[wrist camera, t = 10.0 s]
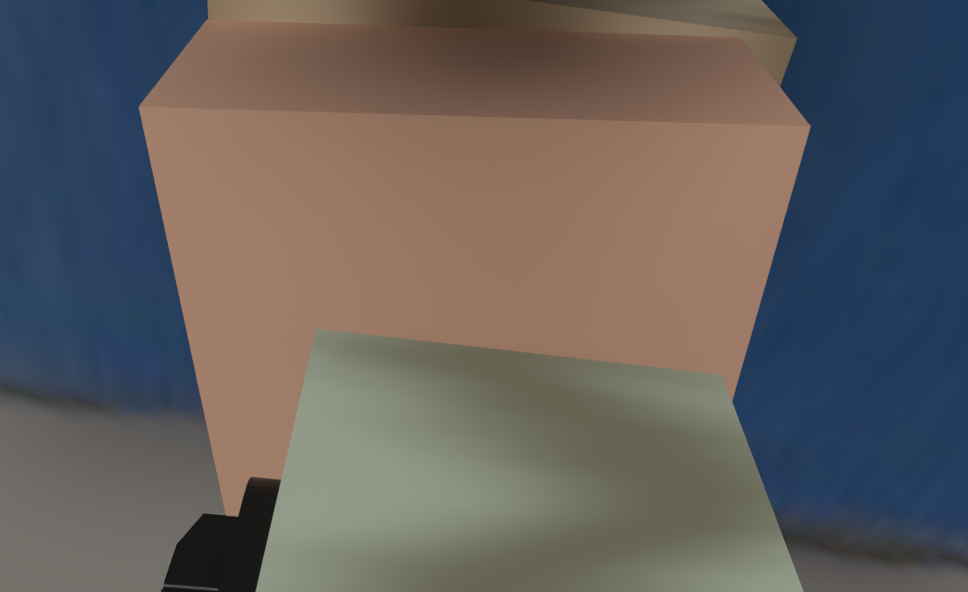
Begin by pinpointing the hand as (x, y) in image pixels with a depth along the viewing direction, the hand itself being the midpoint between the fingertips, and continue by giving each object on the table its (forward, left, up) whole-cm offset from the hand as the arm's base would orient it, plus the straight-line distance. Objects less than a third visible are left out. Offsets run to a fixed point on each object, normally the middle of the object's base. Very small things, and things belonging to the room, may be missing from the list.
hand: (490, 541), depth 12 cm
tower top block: (0, 0, -8) cm, 8 cm away
